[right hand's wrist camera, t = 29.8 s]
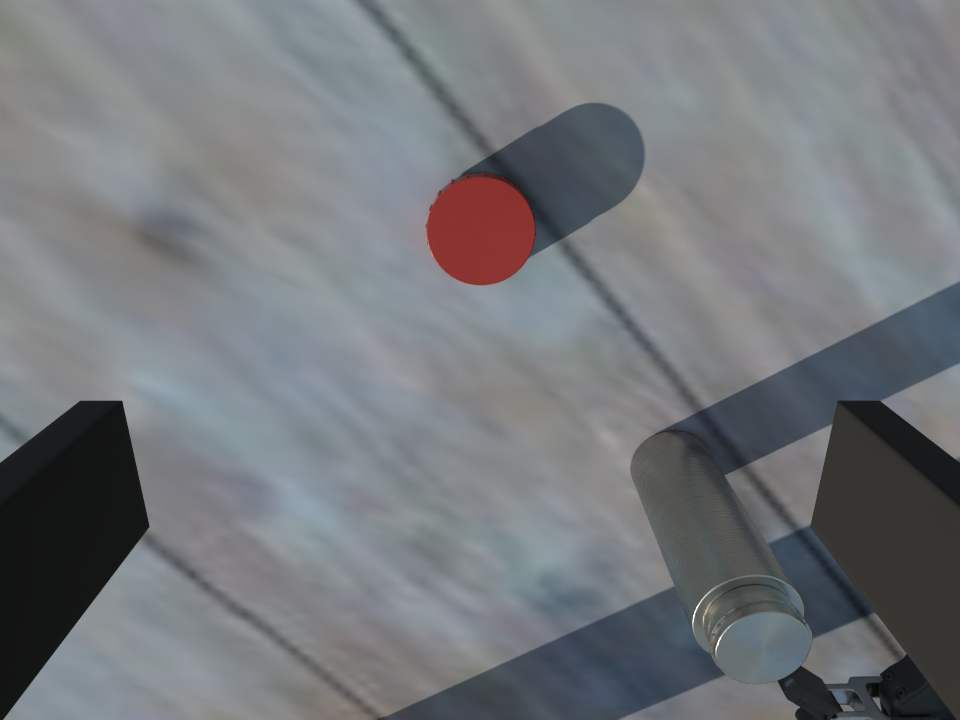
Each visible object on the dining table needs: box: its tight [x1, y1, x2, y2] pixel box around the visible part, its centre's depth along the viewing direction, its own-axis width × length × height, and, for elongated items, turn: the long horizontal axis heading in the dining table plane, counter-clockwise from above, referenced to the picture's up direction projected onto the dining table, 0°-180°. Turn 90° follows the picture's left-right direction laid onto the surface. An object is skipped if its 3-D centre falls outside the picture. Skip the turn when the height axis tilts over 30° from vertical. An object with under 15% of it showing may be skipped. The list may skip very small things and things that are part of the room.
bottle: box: [631, 431, 813, 684], centre depth 35 cm, size 5×5×15 cm
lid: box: [426, 171, 536, 285], centre depth 36 cm, size 6×6×2 cm
